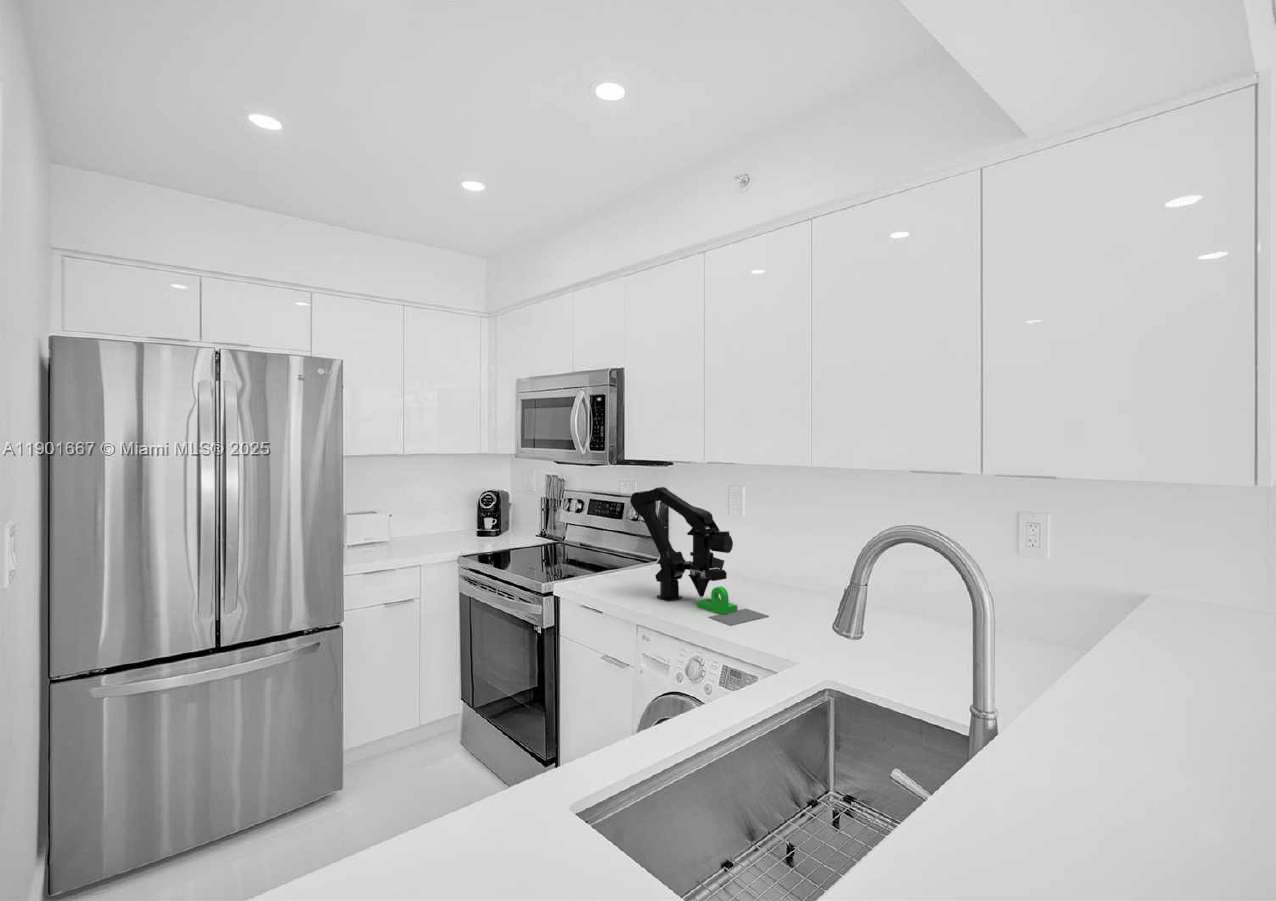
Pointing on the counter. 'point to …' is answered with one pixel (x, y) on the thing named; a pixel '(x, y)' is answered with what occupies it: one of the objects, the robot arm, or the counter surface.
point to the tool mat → (738, 617)
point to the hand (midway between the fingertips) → (701, 596)
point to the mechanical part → (718, 602)
